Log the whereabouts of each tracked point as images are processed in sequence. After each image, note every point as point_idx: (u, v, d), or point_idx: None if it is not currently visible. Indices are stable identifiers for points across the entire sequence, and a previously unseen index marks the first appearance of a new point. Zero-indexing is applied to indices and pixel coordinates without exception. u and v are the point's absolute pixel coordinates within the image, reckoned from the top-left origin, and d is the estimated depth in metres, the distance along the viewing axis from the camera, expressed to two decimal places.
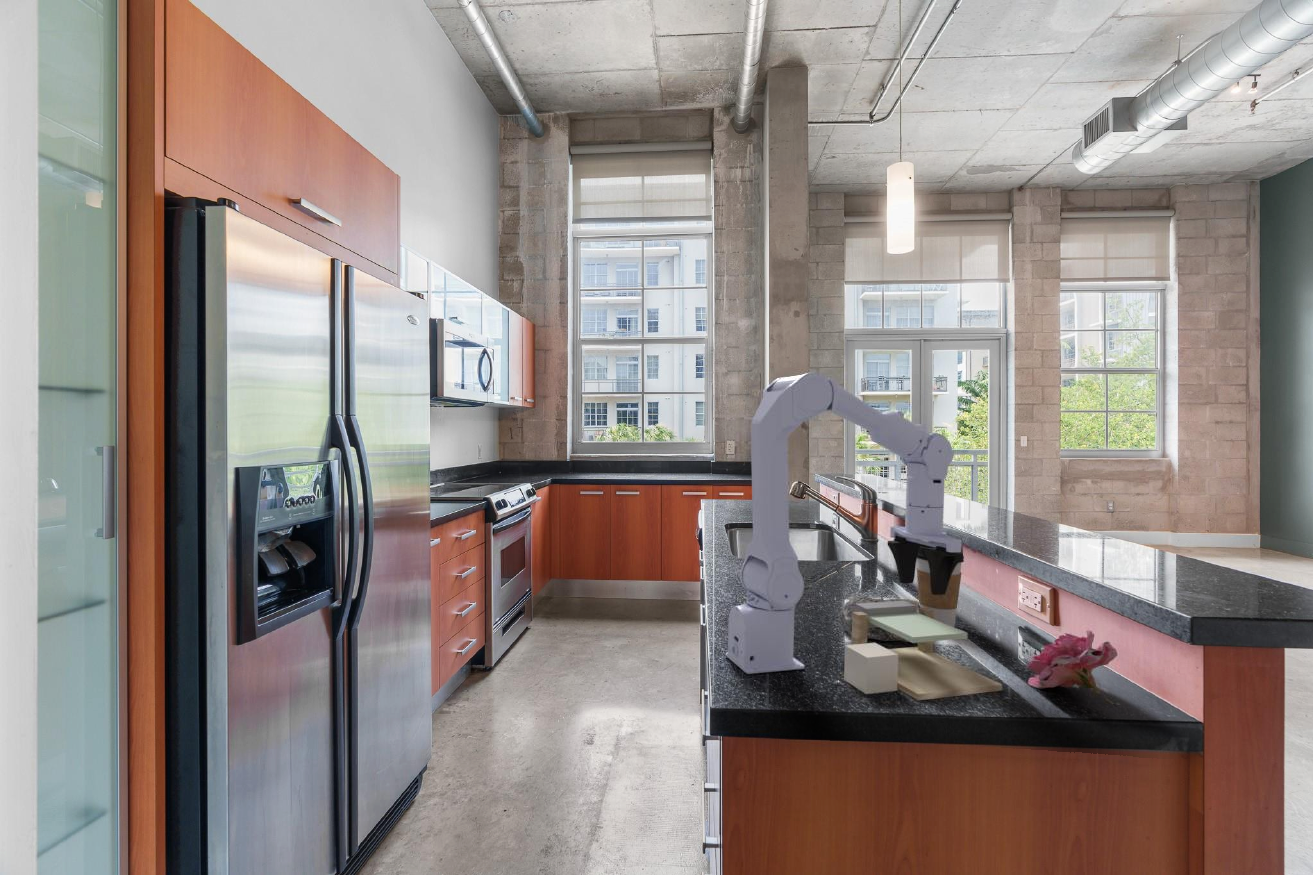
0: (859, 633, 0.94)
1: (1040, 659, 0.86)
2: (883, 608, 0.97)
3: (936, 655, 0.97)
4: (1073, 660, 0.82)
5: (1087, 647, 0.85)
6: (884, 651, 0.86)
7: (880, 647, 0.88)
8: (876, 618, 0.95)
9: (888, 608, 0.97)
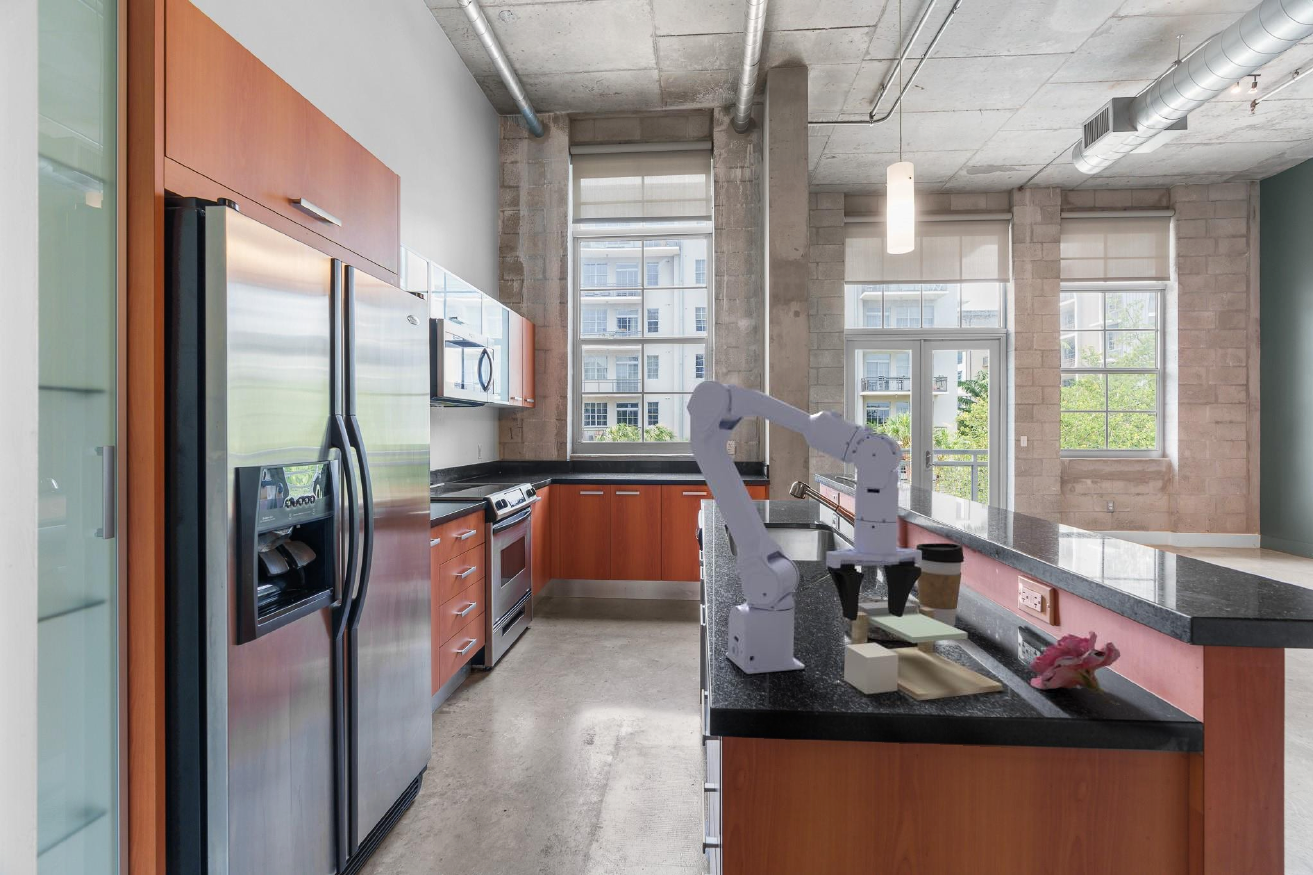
0: (859, 633, 0.94)
1: (1043, 660, 0.86)
2: (883, 608, 0.97)
3: (936, 655, 0.97)
4: (1076, 661, 0.82)
5: (1090, 648, 0.84)
6: (884, 651, 0.86)
7: (880, 647, 0.88)
8: (876, 618, 0.95)
9: None
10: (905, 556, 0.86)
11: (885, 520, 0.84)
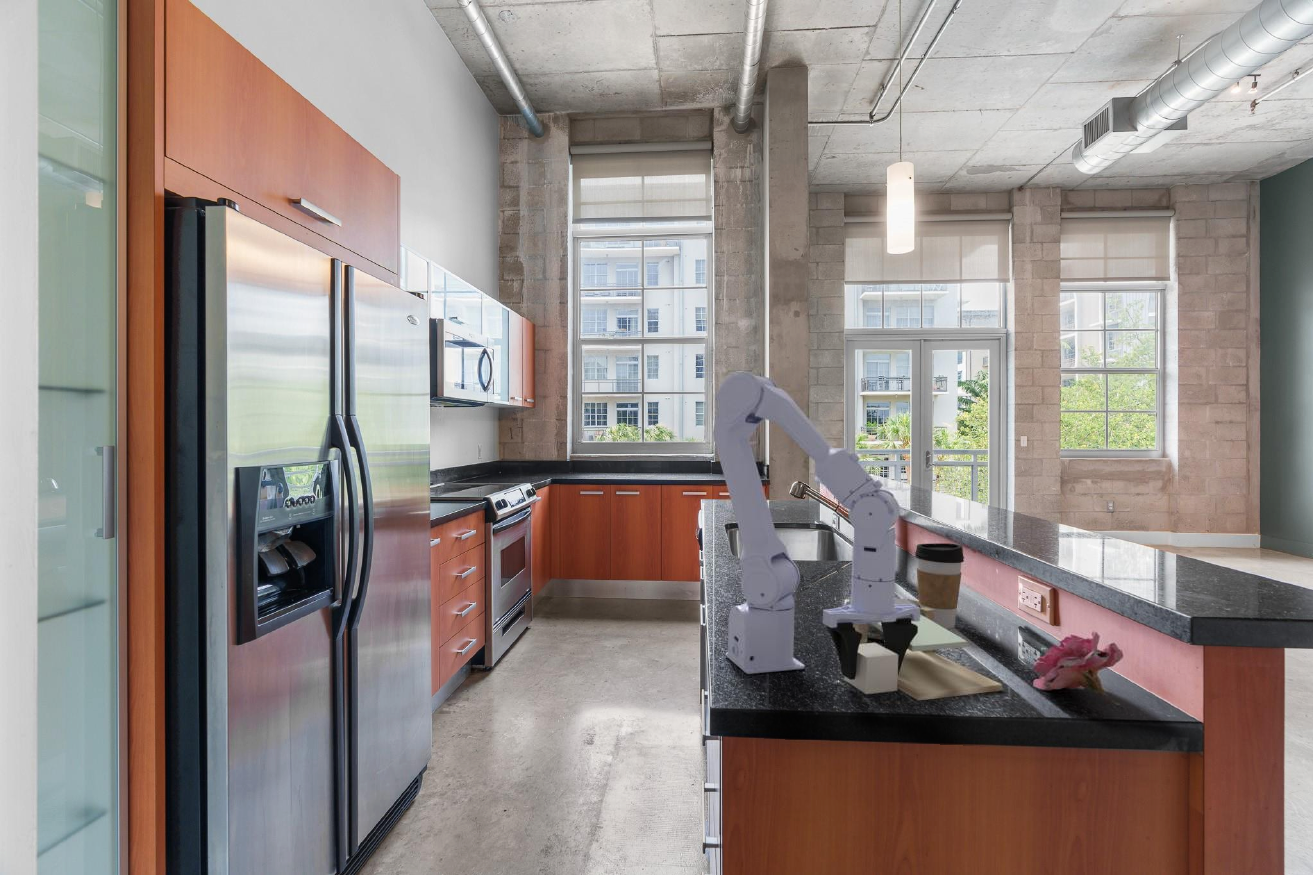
0: None
1: (1045, 661, 0.85)
2: None
3: (936, 655, 0.97)
4: (1079, 662, 0.81)
5: (1093, 648, 0.84)
6: (884, 651, 0.86)
7: (880, 647, 0.88)
8: None
9: None
10: (903, 614, 0.86)
11: (882, 579, 0.84)
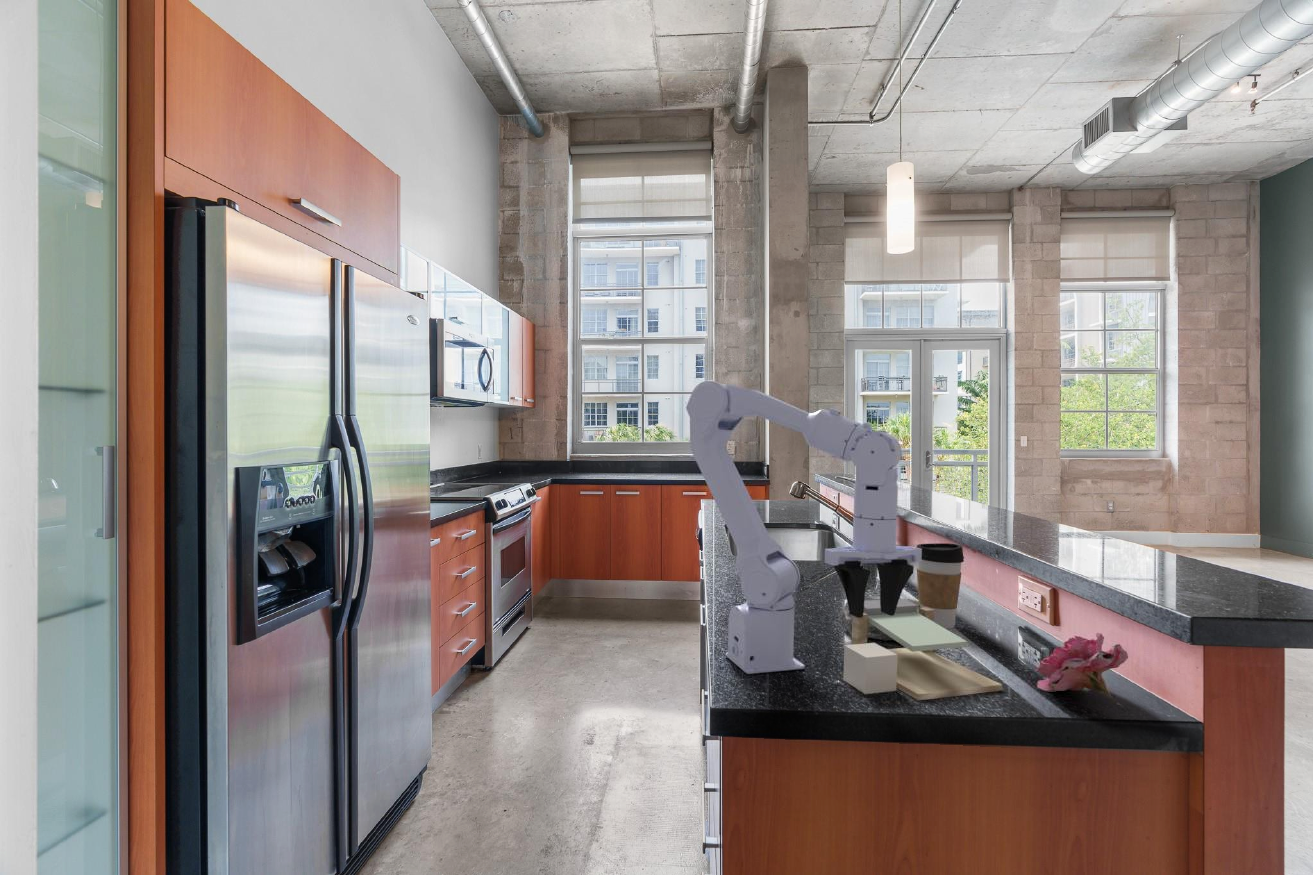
0: (859, 633, 0.94)
1: (1050, 662, 0.85)
2: None
3: (936, 655, 0.97)
4: (1084, 663, 0.81)
5: (1097, 650, 0.84)
6: (883, 651, 0.86)
7: (879, 647, 0.88)
8: (876, 619, 0.95)
9: None
10: (904, 554, 0.86)
11: (884, 517, 0.84)
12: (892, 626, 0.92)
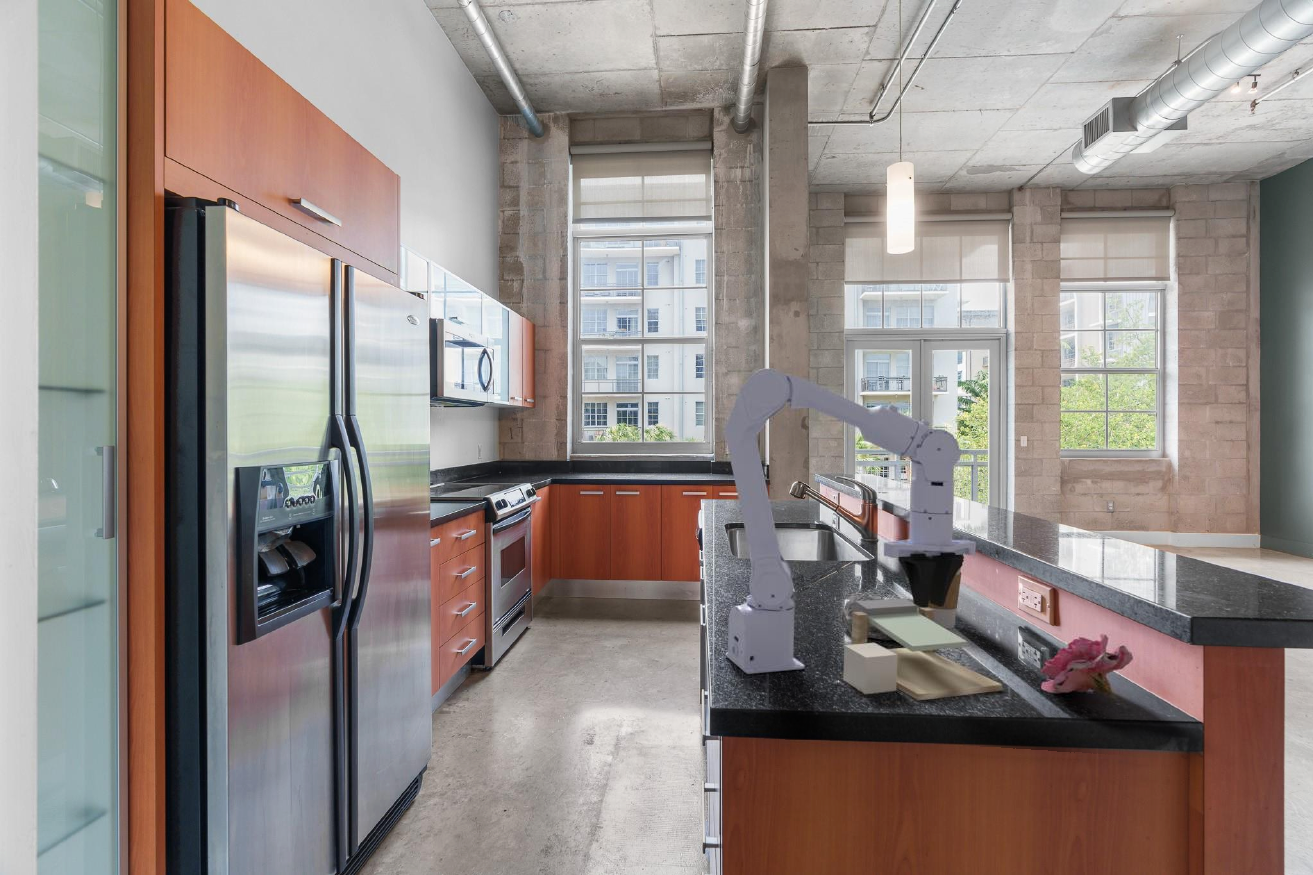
0: (859, 633, 0.94)
1: (1054, 663, 0.84)
2: (884, 608, 0.97)
3: (936, 655, 0.97)
4: (1089, 665, 0.80)
5: (1102, 651, 0.83)
6: (883, 651, 0.86)
7: (879, 647, 0.88)
8: (876, 619, 0.95)
9: (889, 608, 0.97)
10: (960, 547, 0.89)
11: (947, 512, 0.87)
12: (892, 626, 0.92)
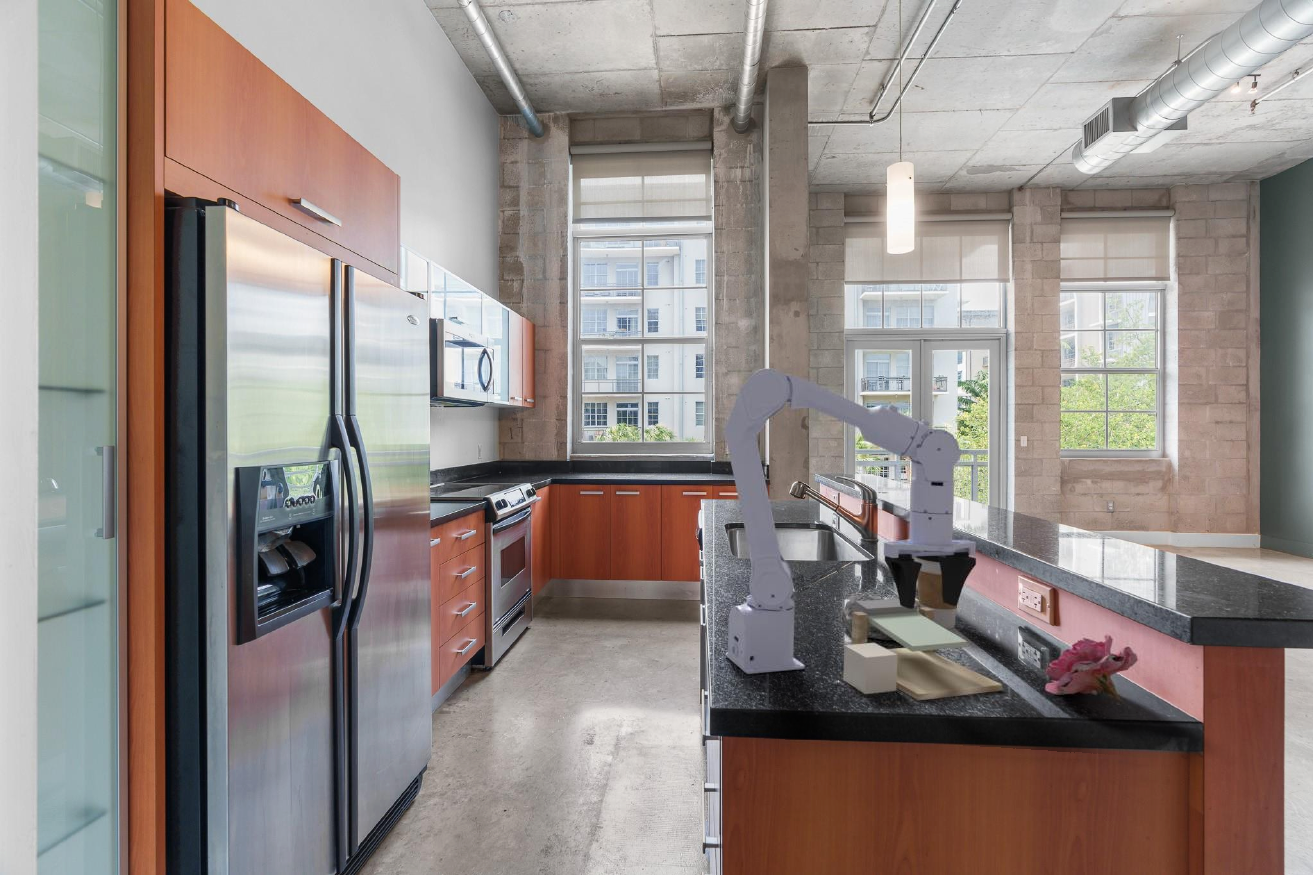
0: (859, 633, 0.94)
1: (1058, 665, 0.84)
2: (884, 608, 0.97)
3: (936, 655, 0.97)
4: (1094, 666, 0.80)
5: (1106, 652, 0.83)
6: (883, 651, 0.86)
7: (879, 647, 0.88)
8: (876, 619, 0.95)
9: (889, 608, 0.97)
10: (960, 547, 0.89)
11: (947, 512, 0.87)
12: (892, 626, 0.92)
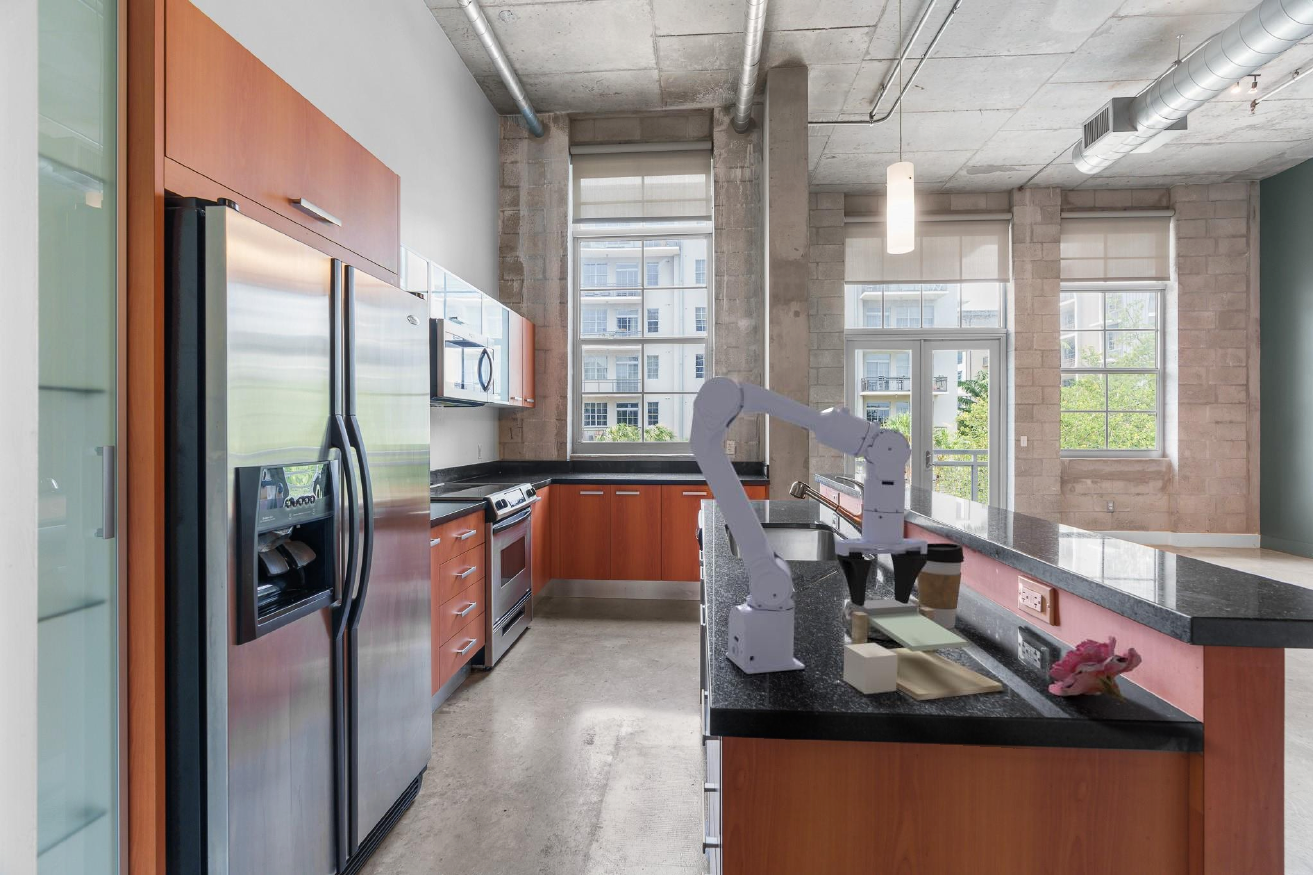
0: (859, 633, 0.94)
1: (1062, 666, 0.84)
2: (884, 608, 0.97)
3: (936, 655, 0.97)
4: (1098, 667, 0.80)
5: (1110, 653, 0.82)
6: (883, 651, 0.86)
7: (879, 647, 0.88)
8: (876, 619, 0.95)
9: (889, 608, 0.97)
10: (911, 545, 0.90)
11: (897, 511, 0.88)
12: (892, 626, 0.92)
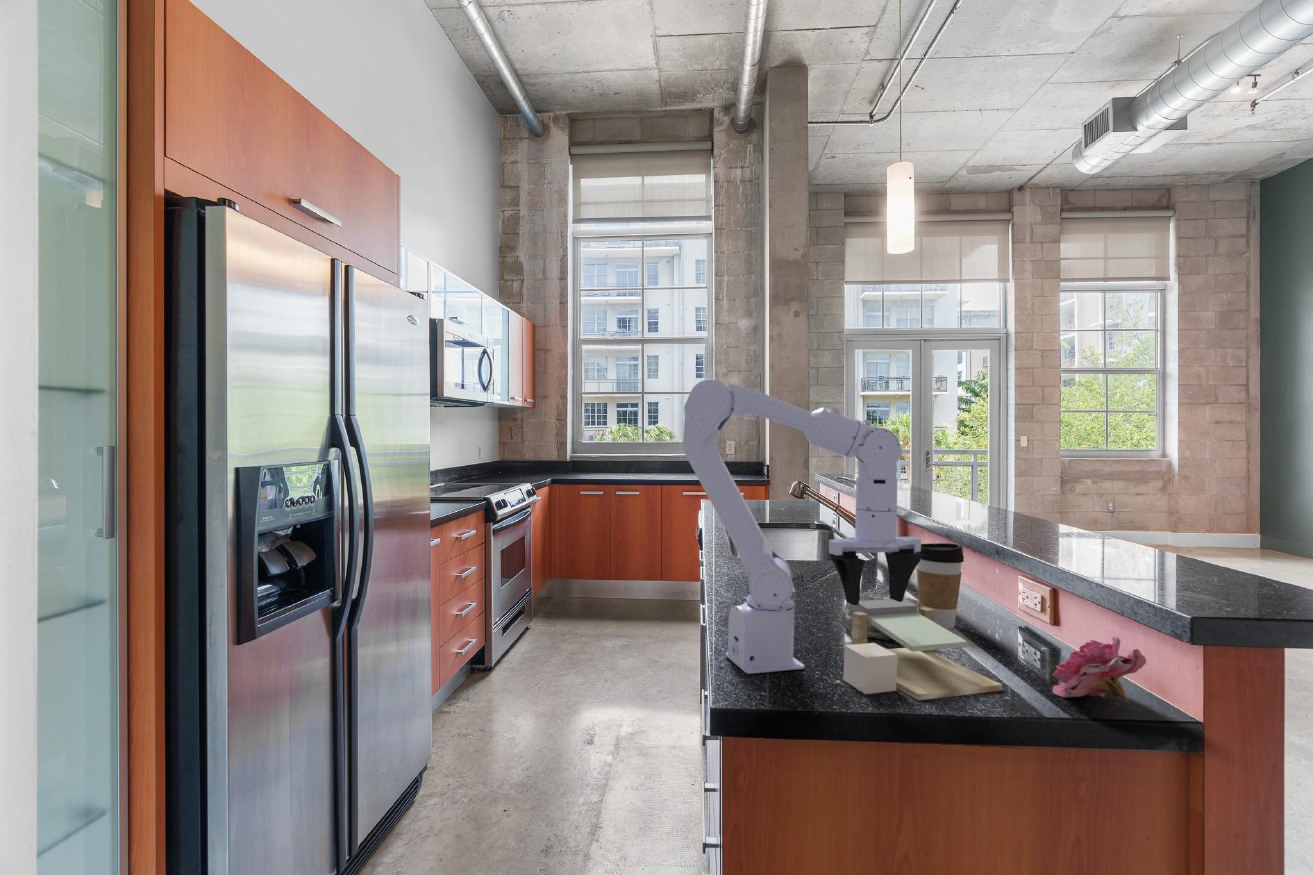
0: (859, 633, 0.94)
1: (1066, 667, 0.83)
2: (884, 608, 0.97)
3: (936, 655, 0.97)
4: (1102, 668, 0.79)
5: (1115, 654, 0.82)
6: (883, 651, 0.86)
7: (879, 647, 0.88)
8: (876, 619, 0.95)
9: (889, 608, 0.97)
10: (904, 543, 0.90)
11: (890, 509, 0.89)
12: (892, 626, 0.92)
